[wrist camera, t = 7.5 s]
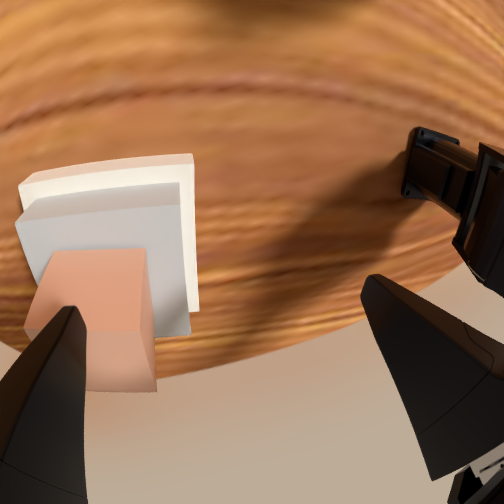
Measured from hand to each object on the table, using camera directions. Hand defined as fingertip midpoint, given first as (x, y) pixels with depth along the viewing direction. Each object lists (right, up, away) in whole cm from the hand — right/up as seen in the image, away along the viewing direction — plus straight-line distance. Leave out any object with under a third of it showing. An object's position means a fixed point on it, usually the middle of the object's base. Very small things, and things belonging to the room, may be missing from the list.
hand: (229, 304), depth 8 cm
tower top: (-8, +1, +8) cm, 12 cm away
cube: (-7, 0, +6) cm, 9 cm away
